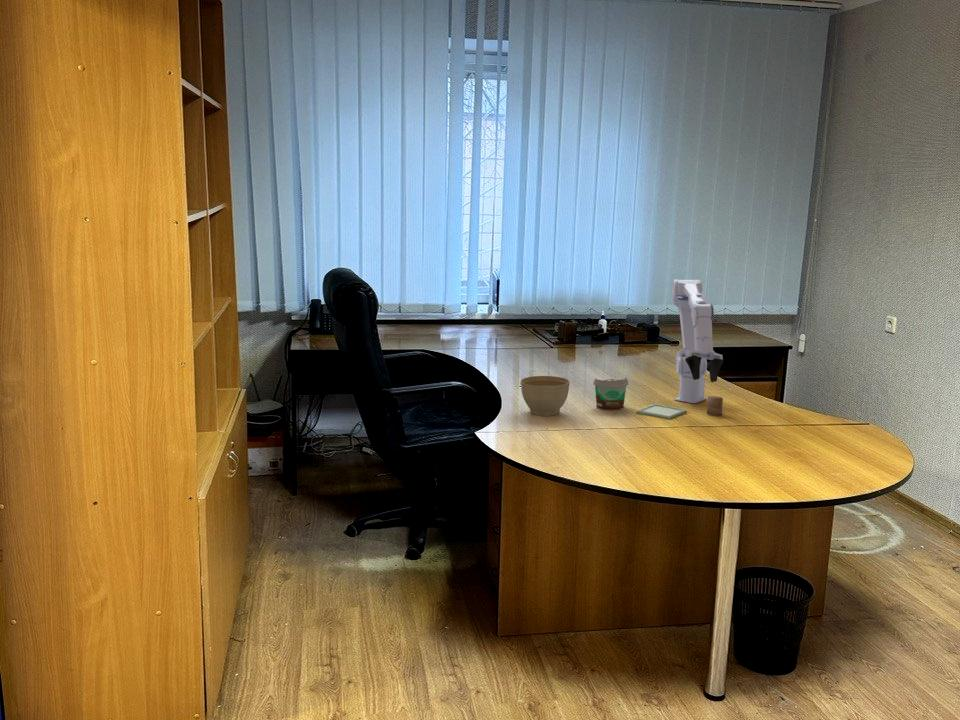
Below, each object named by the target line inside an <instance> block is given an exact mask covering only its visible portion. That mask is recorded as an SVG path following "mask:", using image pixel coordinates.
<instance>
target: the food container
mask: <svg viewBox="0 0 960 720" xmlns="http://www.w3.org/2000/svg"><path fill="white" fill-rule="evenodd" d="M592 384H593V385H594V386H595V387H594V388H595V402H596V403H595V405H596V408H598V409H601V410H607V411H616V410H617V411H619V410H623V409H624V407H625V397H626V390H627V387H628V385H629V380H628V377H627V376H625V377H624V379H612V378H611V379H610V378H609V379H603V380H602V379H599V378H594V380H593V383H592Z"/></svg>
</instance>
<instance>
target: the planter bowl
mask: <svg viewBox="0 0 960 720" xmlns="http://www.w3.org/2000/svg"><path fill="white" fill-rule="evenodd" d="M570 384H571V381H570V379H568V378H565V377H561V376H554V375H533V376H528V377H526V376H525V377H523V378H522V379H520V388H521V394H522V398H523V401H524V402H525V405H527V407H528V409H529V412H530V413H531V414H532V415H535V416H545V417H548V416H556V415H558V414H559V413H560V412H561V411H560V410H561V408H562V407H563V406H564V405H565V403H566V401H567V398H568V395H569V391H570Z"/></svg>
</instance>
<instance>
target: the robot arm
mask: <svg viewBox="0 0 960 720" xmlns="http://www.w3.org/2000/svg"><path fill="white" fill-rule="evenodd" d="M671 298H672V302H673V305H674V306H676V307H677V310H678V313H679V321H680V331H681V341H682V349H681V350H679V351H678V352H677V354H676V355H675V370H676V373H677V374H678V375H679V389H678V390H679V393H678V396H677V397H675V398H674V399H673V400H674V401H677V402H678V401H679V402H684V403H689V404H697V403H700V402H702V401H704V400H708V397H705V391H706V390H705V389H706V380H705V378H704V375H705V374H706V372H707V371H709V378H710V379H709V380H710V383H715V382H717V380H718V377H719V373H720V370H721V367H722V365H723V363H724V359H723V354H720V353H717V352H715V350H714V347H713V346H714V343H713V341H714V340H713V320H714V315H715V308H714V305H713V303H708V302H707V300H706V297H705V296H704V295H703V282H702V281H701V279H673V281H672V283H671ZM707 360H710V361H709V362H708V361H707ZM707 369H708V370H707Z"/></svg>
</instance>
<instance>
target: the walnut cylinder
mask: <svg viewBox="0 0 960 720" xmlns="http://www.w3.org/2000/svg"><path fill="white" fill-rule="evenodd" d="M723 398H724V397H722V396H715V395H710V396H707V405H706V408H707V409H706V414H707V415H709V416H713V417H714V416H715V417H716V416H717V417H719V416H722V415H723V404H724V403H723V401H724V399H723Z"/></svg>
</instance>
